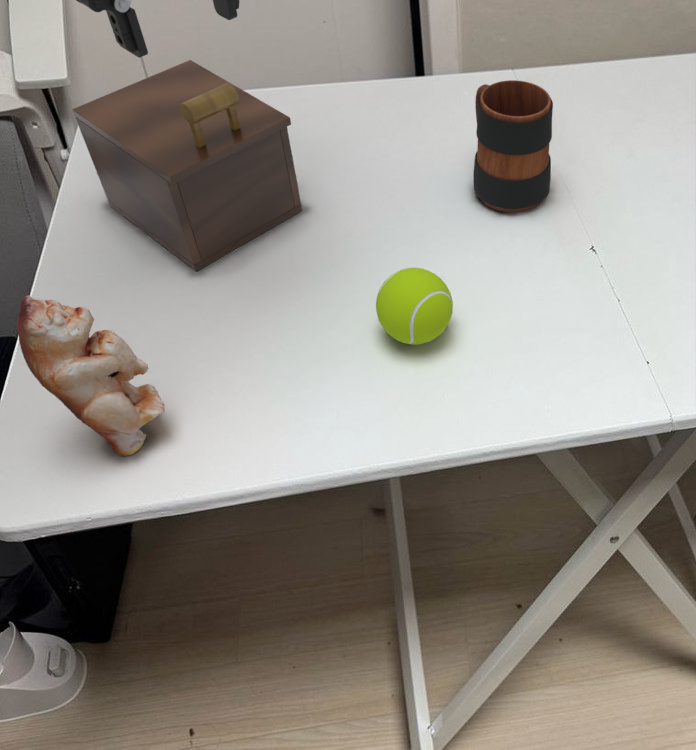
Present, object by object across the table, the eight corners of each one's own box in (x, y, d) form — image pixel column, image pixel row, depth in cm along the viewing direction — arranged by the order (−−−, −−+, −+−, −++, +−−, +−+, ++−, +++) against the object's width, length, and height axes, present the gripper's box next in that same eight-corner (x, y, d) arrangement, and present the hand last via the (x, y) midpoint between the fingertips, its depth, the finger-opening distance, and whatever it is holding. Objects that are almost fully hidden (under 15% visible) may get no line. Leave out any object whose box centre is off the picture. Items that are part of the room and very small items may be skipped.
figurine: (180, 441, 70) (125, 313, 59) (87, 479, 67) (10, 351, 56) (159, 393, 73) (103, 263, 62) (69, 427, 70) (-6, 297, 59)
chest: (302, 210, 91) (286, 122, 83) (196, 271, 84) (167, 181, 76) (215, 154, 98) (192, 67, 90) (110, 206, 91) (74, 116, 82)
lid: (291, 124, 82) (282, 74, 79) (172, 184, 75) (155, 133, 71) (192, 66, 90) (179, 18, 86) (74, 116, 82) (54, 66, 79)
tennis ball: (468, 333, 79) (468, 278, 74) (412, 371, 76) (408, 316, 70) (419, 297, 82) (416, 242, 77) (364, 331, 79) (356, 276, 74)
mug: (509, 148, 100) (513, 56, 91) (563, 201, 93) (573, 107, 84) (446, 168, 97) (443, 74, 88) (497, 224, 90) (500, 129, 81)
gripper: (177, -232, 61) (228, -9, 73) (-13, -191, 53) (79, 50, 66) (240, -211, 57) (282, 19, 70) (47, -164, 50) (131, 83, 62)
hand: (183, 34), depth 68 cm, fingers open, 8 cm apart
